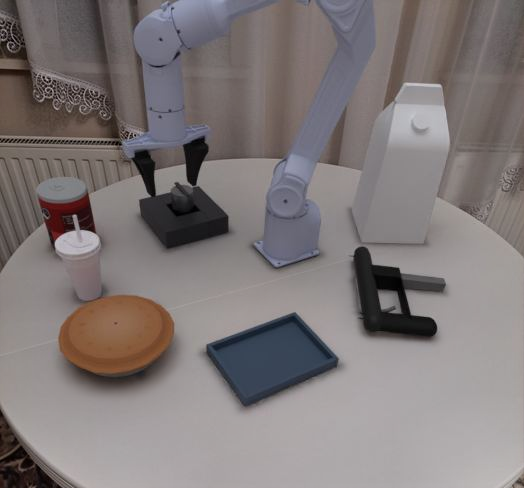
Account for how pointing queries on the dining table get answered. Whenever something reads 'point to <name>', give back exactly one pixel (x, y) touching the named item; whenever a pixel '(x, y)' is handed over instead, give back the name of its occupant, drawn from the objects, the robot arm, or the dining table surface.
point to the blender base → (183, 219)
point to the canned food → (65, 206)
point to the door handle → (393, 279)
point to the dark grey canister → (182, 199)
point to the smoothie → (81, 261)
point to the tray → (270, 357)
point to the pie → (116, 335)
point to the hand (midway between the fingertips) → (171, 188)
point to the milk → (403, 167)
